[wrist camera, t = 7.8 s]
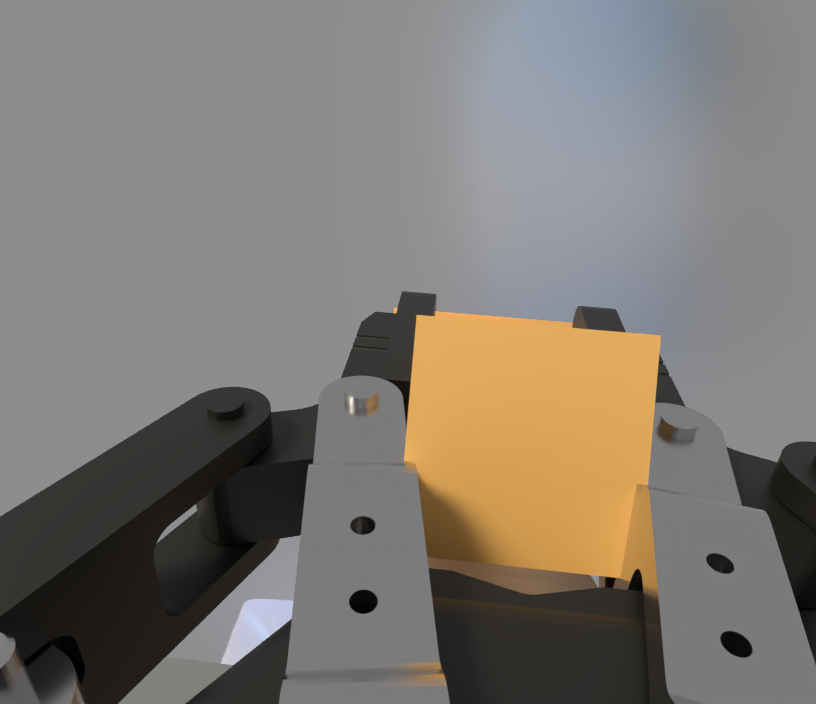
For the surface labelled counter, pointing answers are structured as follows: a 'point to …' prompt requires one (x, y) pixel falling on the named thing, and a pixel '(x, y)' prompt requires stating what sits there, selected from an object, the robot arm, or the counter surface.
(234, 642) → the counter surface
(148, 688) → the block
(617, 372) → the orange block
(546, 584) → the tall wooden block
